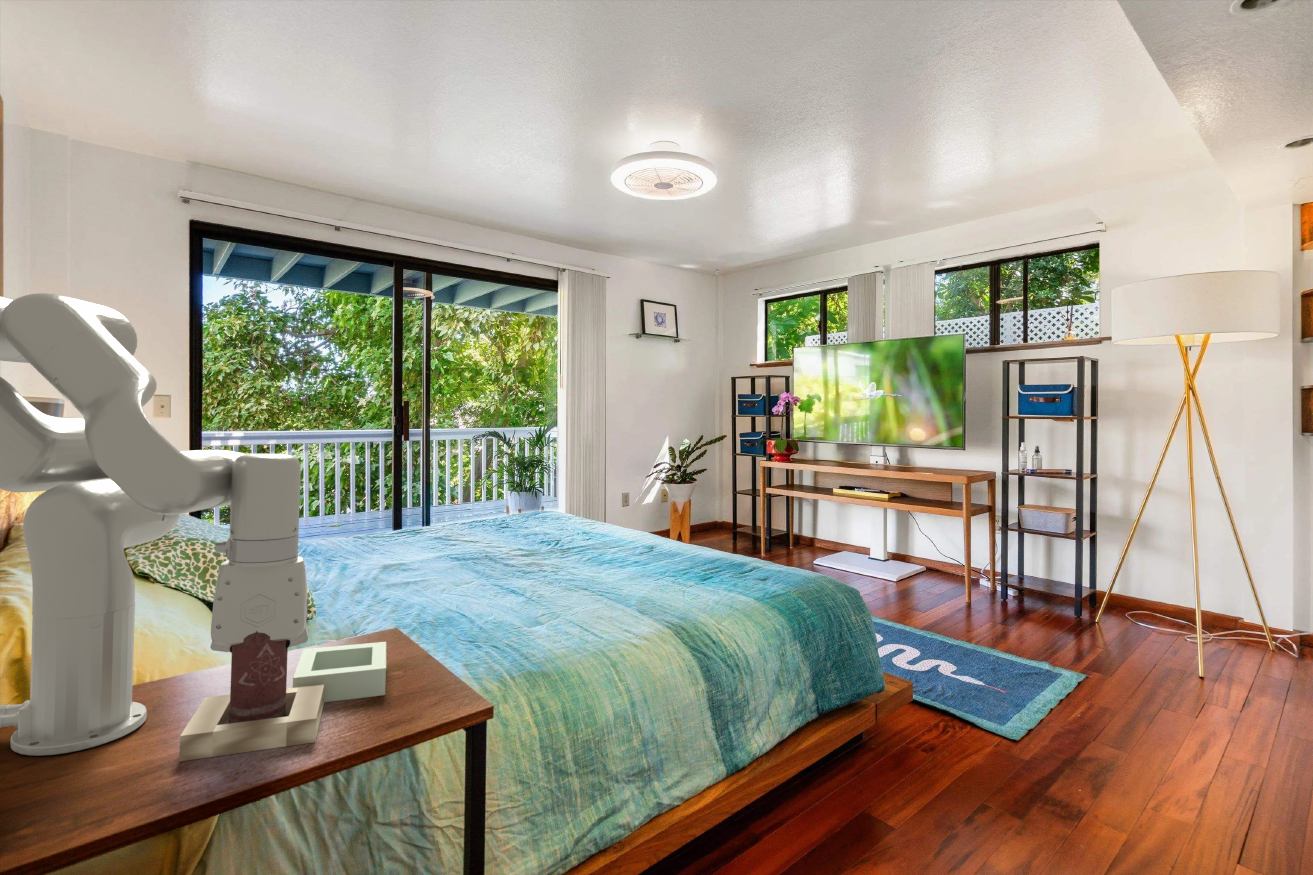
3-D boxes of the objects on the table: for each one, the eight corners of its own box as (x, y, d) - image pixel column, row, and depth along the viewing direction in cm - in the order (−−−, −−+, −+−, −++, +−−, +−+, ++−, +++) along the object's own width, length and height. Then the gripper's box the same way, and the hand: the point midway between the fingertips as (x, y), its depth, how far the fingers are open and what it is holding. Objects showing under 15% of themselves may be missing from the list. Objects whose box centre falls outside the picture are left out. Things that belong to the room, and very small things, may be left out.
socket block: (179, 761, 73) (180, 735, 73) (204, 719, 83) (205, 697, 83) (315, 742, 78) (316, 718, 78) (323, 705, 88) (324, 684, 88)
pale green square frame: (292, 706, 88) (293, 677, 88) (302, 674, 99) (303, 648, 99) (385, 694, 93) (386, 668, 93) (385, 665, 104) (386, 641, 104)
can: (296, 721, 84) (300, 617, 83) (262, 744, 77) (266, 632, 77) (254, 717, 84) (258, 613, 84) (216, 740, 78) (220, 628, 78)
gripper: (185, 558, 74) (180, 712, 74) (327, 553, 80) (322, 695, 80) (202, 546, 81) (197, 687, 81) (332, 542, 87) (327, 673, 87)
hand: (259, 691), depth 81 cm, fingers closed
